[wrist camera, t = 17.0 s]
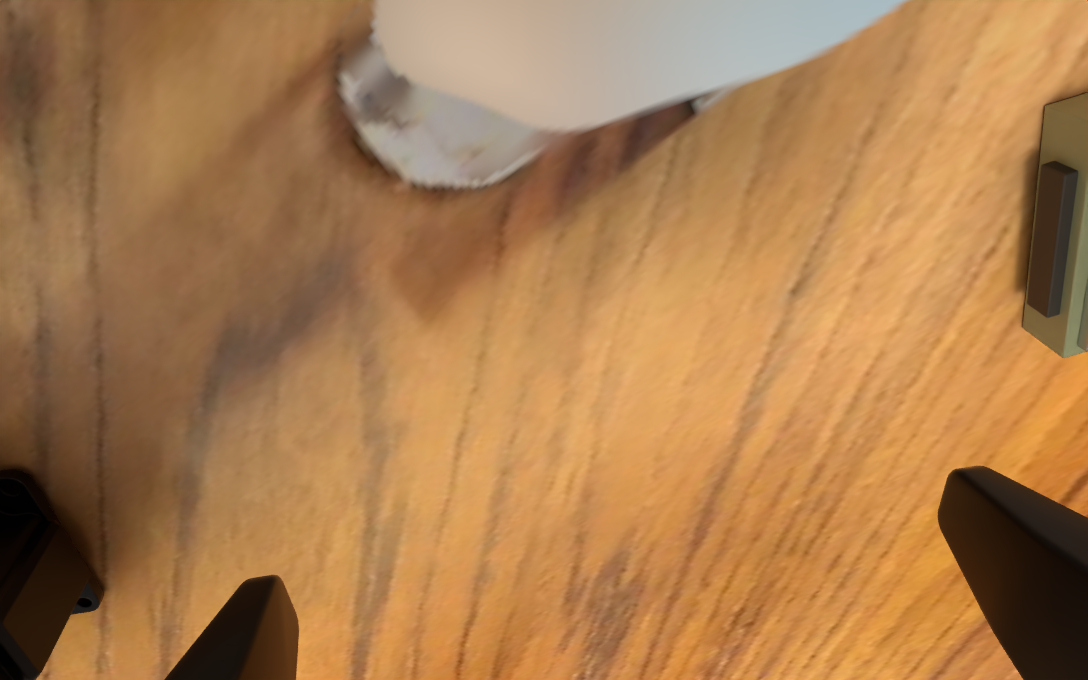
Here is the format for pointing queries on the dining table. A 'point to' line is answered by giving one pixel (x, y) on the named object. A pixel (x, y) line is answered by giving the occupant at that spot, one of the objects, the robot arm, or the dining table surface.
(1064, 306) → the scale
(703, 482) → the dining table surface
